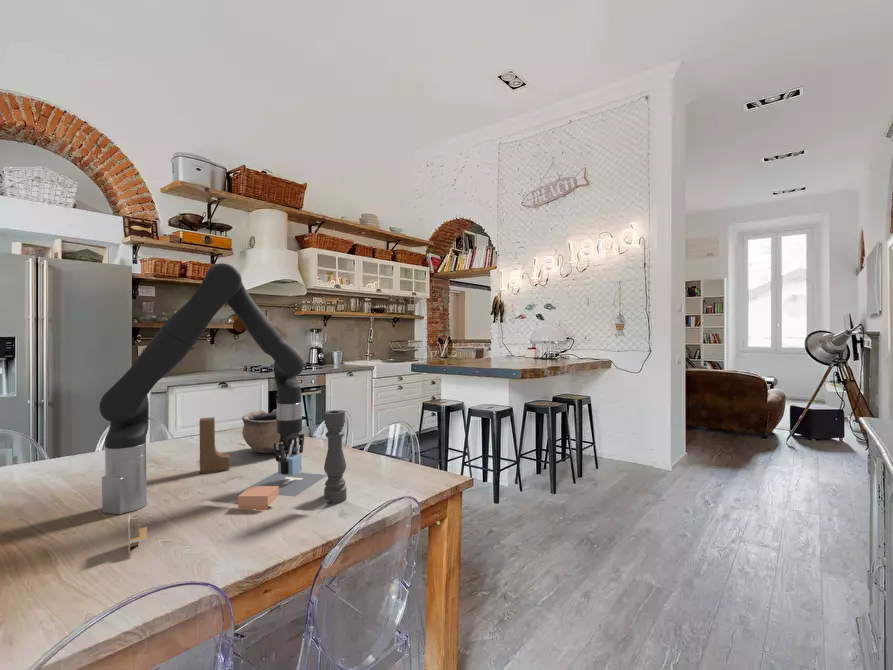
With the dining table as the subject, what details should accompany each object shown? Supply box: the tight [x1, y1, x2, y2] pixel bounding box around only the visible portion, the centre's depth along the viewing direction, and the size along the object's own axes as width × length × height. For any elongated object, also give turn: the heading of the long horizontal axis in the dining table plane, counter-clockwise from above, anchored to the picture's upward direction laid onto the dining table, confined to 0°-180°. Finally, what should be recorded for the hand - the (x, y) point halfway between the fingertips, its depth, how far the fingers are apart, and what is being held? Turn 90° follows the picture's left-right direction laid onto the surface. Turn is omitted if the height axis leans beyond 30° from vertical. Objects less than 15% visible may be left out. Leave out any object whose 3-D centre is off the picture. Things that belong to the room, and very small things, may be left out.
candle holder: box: [323, 409, 347, 505], centre depth 133 cm, size 6×6×25 cm
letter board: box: [240, 471, 328, 497], centre depth 144 cm, size 20×18×1 cm
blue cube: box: [277, 454, 303, 476], centre depth 146 cm, size 5×5×5 cm
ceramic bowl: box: [241, 408, 302, 454], centre depth 185 cm, size 22×22×15 cm
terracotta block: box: [237, 485, 280, 511], centre depth 130 cm, size 8×8×4 cm
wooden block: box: [199, 417, 231, 474], centre depth 160 cm, size 9×4×18 cm, turn 115°
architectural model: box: [127, 513, 148, 555], centre depth 104 cm, size 3×7×8 cm, turn 33°
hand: (289, 470), depth 146 cm, fingers closed on blue cube, 5 cm apart
